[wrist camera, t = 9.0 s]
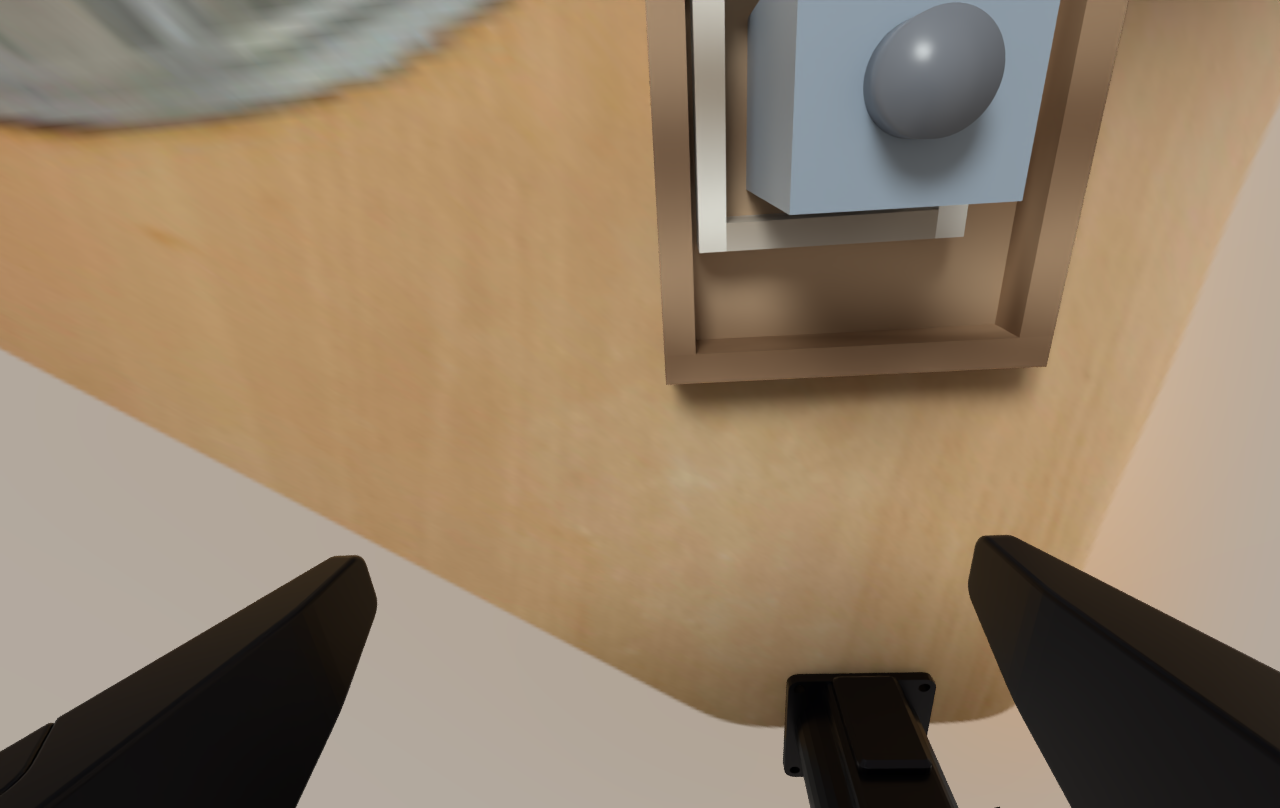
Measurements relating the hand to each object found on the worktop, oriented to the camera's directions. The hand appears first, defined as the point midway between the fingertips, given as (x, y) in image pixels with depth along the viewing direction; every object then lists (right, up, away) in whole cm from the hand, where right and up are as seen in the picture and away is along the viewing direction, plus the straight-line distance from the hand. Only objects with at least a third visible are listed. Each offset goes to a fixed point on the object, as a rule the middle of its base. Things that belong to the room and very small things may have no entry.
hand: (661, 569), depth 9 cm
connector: (+5, +11, +8) cm, 15 cm away
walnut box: (+6, +10, +9) cm, 15 cm away
